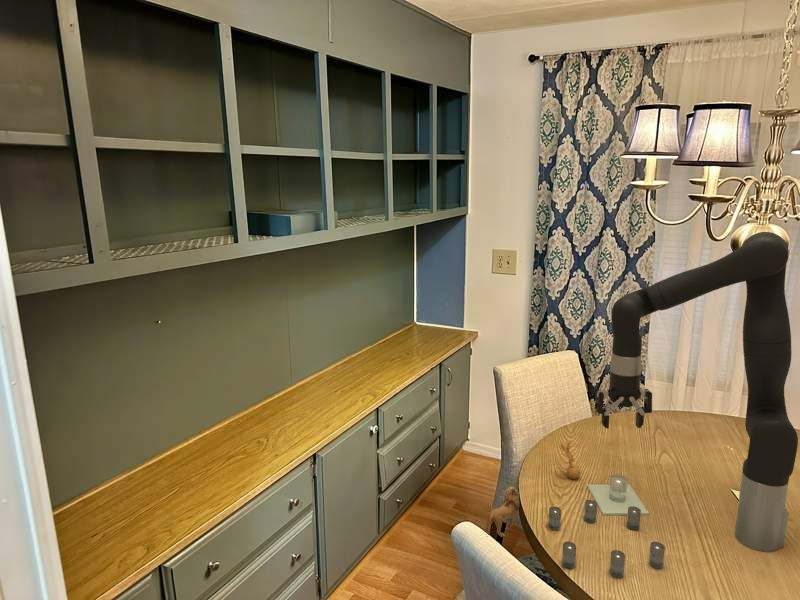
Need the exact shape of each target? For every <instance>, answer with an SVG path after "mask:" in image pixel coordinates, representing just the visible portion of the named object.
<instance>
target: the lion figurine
mask: <svg viewBox="0 0 800 600" xmlns="http://www.w3.org/2000/svg"><path fill="white" fill-rule="evenodd" d="M503 495H504V496H503V498H504V500H503V504H502V505H501V506H500V507H498V508H494V509H491V511H490V512H489V513H488V516H487V522H486V526H485V527H484V532H486V533H487V534H488V535H490V536H491V526H492V524H493V523H494V524H495V526H496V533H497V535H498V536H499V537H501V538H503V537H505V533H504V532H501V531H502V527H503V526H502V525H503V523H505V524H507V523H508V519H510V517H511V525H512V526H515V527H516V526H517V525H518V524H517V522H516V518H517V512H518V511H519V509H520V502H521V501H520V497H521V496H520V492H519V491H518V489H517V488H516V487H515V486H508V488H506V489H505V490H503Z"/></svg>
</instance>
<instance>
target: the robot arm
mask: <svg viewBox="0 0 800 600" xmlns="http://www.w3.org/2000/svg"><path fill="white" fill-rule="evenodd" d="M789 253H790V250H789V246H788V243H787V242H786V241H785V239H783V238H782V236H780V235H778V234H776V233H774V232H770V231H760V232H756V233H754V234H752V235H750V236H749V237H748V238H747V239H745V240H744V241H743V243H742V244H741V246H739V247H738V248H736V249H735V250H733V251H731V252H729V253H728V254H726V255H725V256H723V257H721V258H718V259H716V260H715V261H714V260H713V262H710V263H707V264H704V265H702V266H698V267H695V268H692V269H688V270H685V271H683V272H680V273H679V272H678V273H676V274H673V275H671V276H669V277H667V278H664V279H662V280H659V281H658V282H656V283H653V284H651V285H650V286H646V287H643V288H641V289H638V290H634V291H632V292H630V293H627V294H625V295H622V296H621V297H620V298H619V299H617V300H616V301H615V302H614V303H613V305H612V307H611V317H610V319H611V329H612V335H613V338H612V345H611V346H612V347H611V348H612V350H611V351H612V352H611V357H610V367H609V388H608V390H601V389H597V390H596V392H595V402H594V410H595V411H596V412H597V413H598V415H601V424H602V426H603V427H604V428H605V429H609V428H610V427H609V425H610V414H611V413H612V412H613V411H615V409H616V408H632V406H633V407H634V409H635V410H636V412H635V426H636V427H637V428H638V429H641V428H642V427H644V423H645V422H644V421H645V419H644V418H645V415H646V414H651V413H652V412H653V392H652V391H651V390H650V389H648V388H645V389H644V390H640V388H641V377H642V375H641V374H642V369H643V368H642V348H643V347H642V346H643V340H642V334H640V323H641V318H644V317H646V316H648V315H650V314H652V313H655V312H658V311H665V310H669V309H672V308H674V307H677V306H679V305H683V304H685V303H687V302H690V301H691V300H694V299H696V298H699V297H702V296H704V295H706V294H709V293H711V292H714V291H717V290H719V289H723V288H726V287H729V286H733V285H735V284H739V283H743V282H745V285H746V300H745V307H744V314H743V323H742V347H743V349H742V350H743V352H742V353H743V361H744V362H743V363H744V369H745V371H744V372H745V376H746V382H747V400H746V402H747V403H746V410H745V411H746V413H745V421H744V422H745V423H744V425H745V431H746V432H747V433H746V434H747V435H748V437H749V438H748V439H749V444H748V450H747V451H748V452H747V458H745V459H744V461H743V462H742V463H743V464H742V471H741V479H740V480H741V481H740V487H739V488H740V489H739V495H738V496H739V497H738V505H737V513H736V520H735V521H736V522H735V526H734V527H735V530H734V536H735V538H736V539H737V540H738V541H739V542H740V543H742V544H743V545H744V546H746V547H749V549H754V550H756V551H761V552H766V553H767V552H769V553H770V552H774V551H778V549H780V548H785V540H786V534H787V526H788V518H789V511H788V510H787V509H786V504H787V503H786V502H787V496H788V487H789V481H790V477H791V476H792V475H793V472H794V468H795V462H796V458H797V452H798V445H799V437H798V433H797V431H796V429H795V428H794V425H793V424H792V422H791V421H790V419H789V416H788V413H787V407H786V398H785V397H786V396H785V386H786V385H785V384H786V381H787V377H788V375H789V371H790V368H791V363H792V334H791V325H790V322H791V321H790V317H789V310H788V304H787V299H786V293H785V292H786V290H785V288H786V285H785V284H786V272H787V271H786V270H787V263H788V260H789ZM607 397H608V398H609V399H608V400H606V398H607ZM641 397H642V398H643V406H640V405H641V404H639V403H638V400H639V399H640V398H641ZM604 400H606V402H605V405H604Z"/></svg>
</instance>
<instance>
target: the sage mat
mask: <svg viewBox="0 0 800 600" xmlns="http://www.w3.org/2000/svg"><path fill="white" fill-rule="evenodd" d="M609 487H610V484H587V488H588V490H589V492H590V494H591V496H592V498H593V500H594V501H595V502H597V508H598V509H599V510H600V513H601V514H602V516H628V508H629V507H630V506H634V507H637V508H639V509H640V510H641V515H640V516H650V513H649V511H648V509H647V508H646V507H645V505H644V504H643V502H642V500H641V499H640V498H639V496H638V495H637V494H636V491H635V490H634V489H633V487H632V486H631V485H630V484H628V483H627V491H626V501H625V502H623V503H617V502H614V501H612V500H610V499H609Z"/></svg>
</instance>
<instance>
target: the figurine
mask: <svg viewBox="0 0 800 600" xmlns="http://www.w3.org/2000/svg"><path fill="white" fill-rule="evenodd" d="M570 444H571V441H570V440H569V439H568V440H567V441H566V440H565V441H561V442H560V448H561V449H562V451H563V452H564V454H565V455H566V457H567V459H568V464H569V465H568V466H567V468H566V474H567V476H568V477H569V478H570V479H573V480H574V479H578V478H579V477H580V476H581V474H582V473H581V468H580V467H579V466H577V465H575V463H573V462H574V461H575V459H574V455H573V454H572V452H570V449H571V448H570Z"/></svg>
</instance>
